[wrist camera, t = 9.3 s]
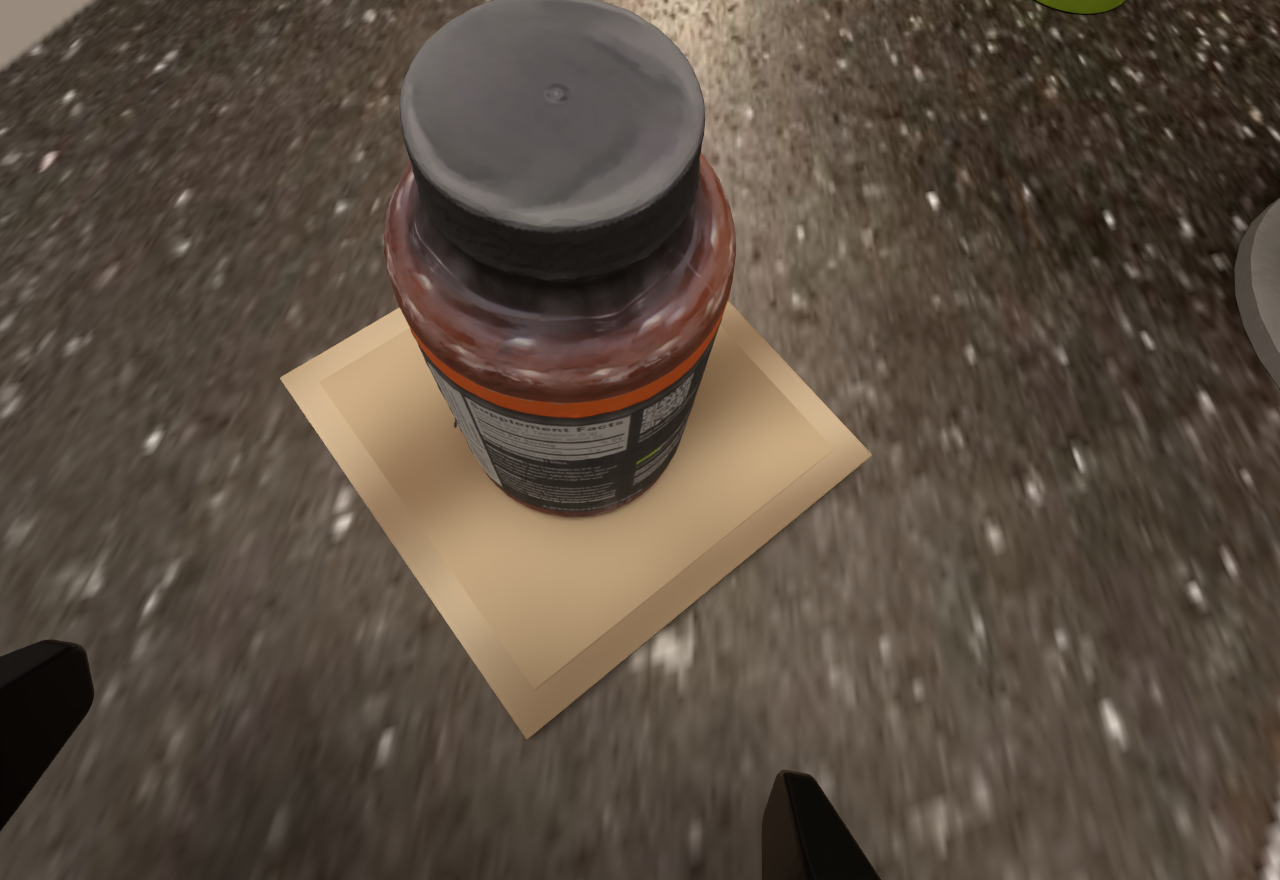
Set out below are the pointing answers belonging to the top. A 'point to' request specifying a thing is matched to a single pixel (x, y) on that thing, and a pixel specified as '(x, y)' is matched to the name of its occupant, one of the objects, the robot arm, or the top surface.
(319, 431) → the coaster
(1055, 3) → the soap dispenser
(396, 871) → the top surface
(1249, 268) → the mate gourd
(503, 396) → the supplement bottle
